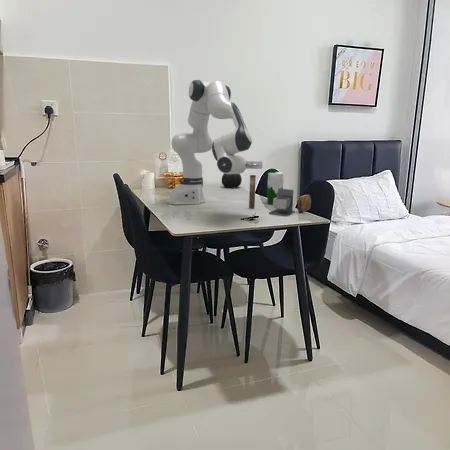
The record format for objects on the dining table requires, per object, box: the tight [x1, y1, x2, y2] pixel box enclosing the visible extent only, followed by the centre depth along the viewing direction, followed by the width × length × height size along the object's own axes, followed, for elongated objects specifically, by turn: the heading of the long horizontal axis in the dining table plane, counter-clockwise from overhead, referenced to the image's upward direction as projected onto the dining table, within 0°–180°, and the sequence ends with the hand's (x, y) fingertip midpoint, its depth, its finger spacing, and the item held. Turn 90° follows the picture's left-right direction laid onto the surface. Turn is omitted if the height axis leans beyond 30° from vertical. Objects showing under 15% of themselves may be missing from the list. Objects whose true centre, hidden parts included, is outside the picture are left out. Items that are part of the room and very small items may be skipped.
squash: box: [221, 173, 243, 189], centre depth 296 cm, size 14×15×15 cm
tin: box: [296, 194, 312, 213], centre depth 217 cm, size 15×3×8 cm, turn 148°
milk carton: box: [266, 168, 284, 205], centre depth 235 cm, size 9×9×20 cm
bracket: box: [268, 188, 296, 217], centre depth 209 cm, size 12×10×12 cm
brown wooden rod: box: [248, 174, 257, 210], centre depth 220 cm, size 3×3×18 cm
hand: (246, 164), depth 207 cm, fingers open, 8 cm apart
